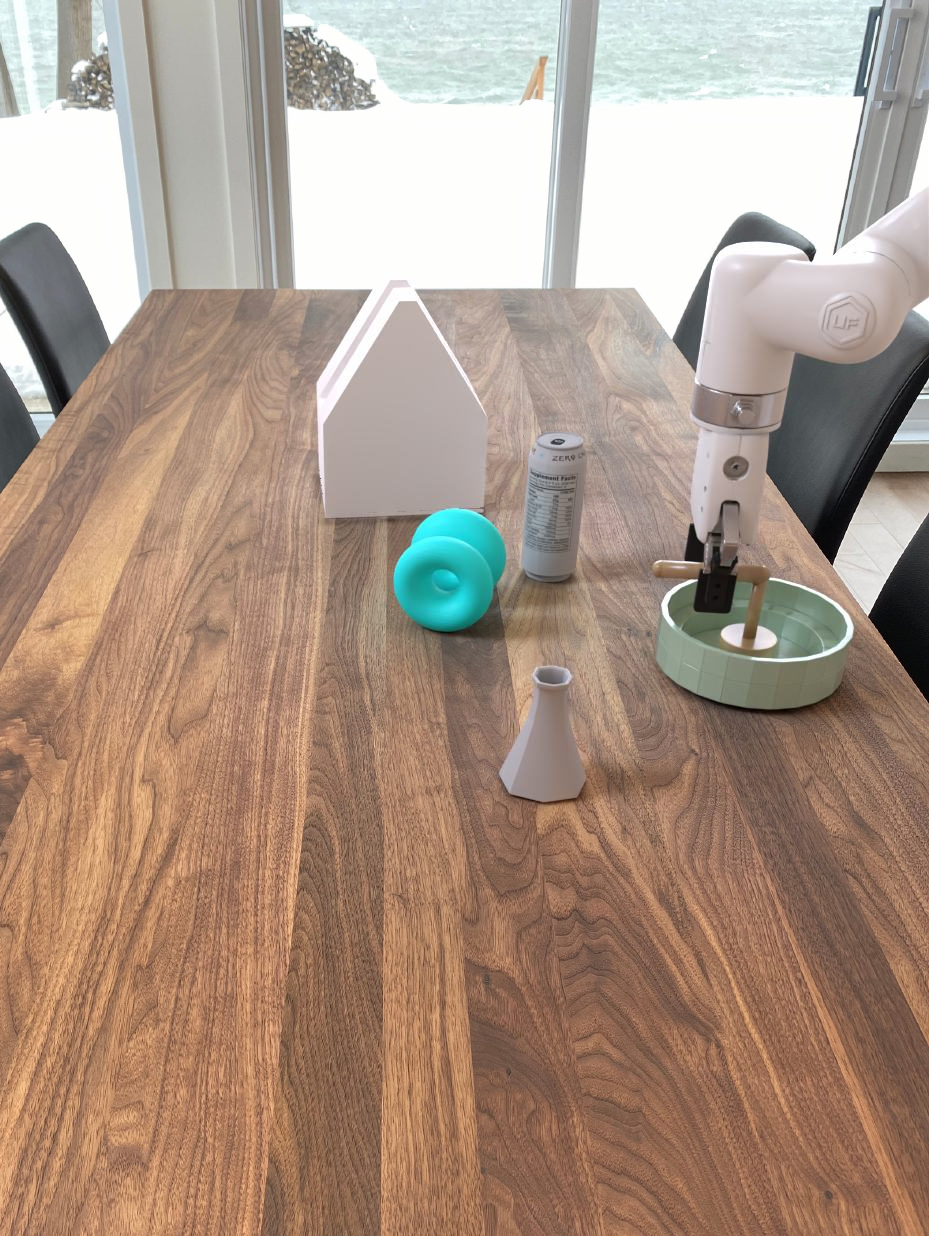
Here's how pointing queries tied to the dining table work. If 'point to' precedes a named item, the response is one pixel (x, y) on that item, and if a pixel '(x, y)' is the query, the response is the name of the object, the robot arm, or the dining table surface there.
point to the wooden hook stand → (748, 634)
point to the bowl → (792, 679)
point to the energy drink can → (553, 506)
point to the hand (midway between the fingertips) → (705, 586)
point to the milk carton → (398, 415)
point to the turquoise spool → (450, 570)
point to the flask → (546, 744)
